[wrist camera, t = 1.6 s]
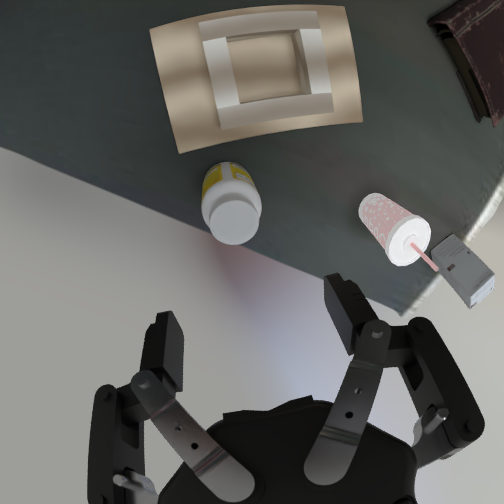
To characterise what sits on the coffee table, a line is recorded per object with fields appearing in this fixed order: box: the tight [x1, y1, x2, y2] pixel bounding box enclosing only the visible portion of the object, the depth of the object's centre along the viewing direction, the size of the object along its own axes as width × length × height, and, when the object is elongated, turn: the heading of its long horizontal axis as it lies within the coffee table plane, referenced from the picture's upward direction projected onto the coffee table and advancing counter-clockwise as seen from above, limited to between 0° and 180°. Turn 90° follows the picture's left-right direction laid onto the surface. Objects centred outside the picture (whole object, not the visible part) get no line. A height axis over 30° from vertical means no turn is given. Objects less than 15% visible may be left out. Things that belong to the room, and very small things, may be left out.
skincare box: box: [431, 234, 495, 309], centre depth 35 cm, size 6×4×12 cm
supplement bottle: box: [201, 162, 262, 245], centre depth 26 cm, size 5×5×10 cm
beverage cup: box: [359, 193, 439, 272], centre depth 28 cm, size 6×6×14 cm
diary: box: [428, 0, 504, 127], centre depth 19 cm, size 19×25×5 cm
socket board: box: [149, 5, 363, 154], centre depth 22 cm, size 14×20×4 cm
